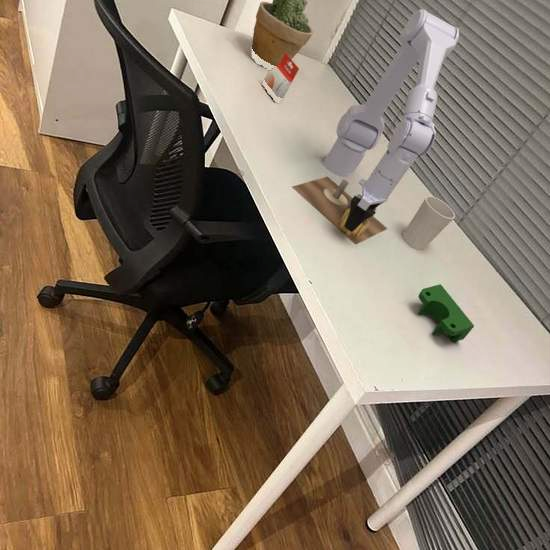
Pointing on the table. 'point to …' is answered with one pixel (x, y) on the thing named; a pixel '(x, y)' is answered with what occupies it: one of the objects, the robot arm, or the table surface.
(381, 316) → the table surface
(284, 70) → the ink box
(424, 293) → the clamp
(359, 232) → the brass gear
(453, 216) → the cup
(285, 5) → the potted plant
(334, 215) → the board
